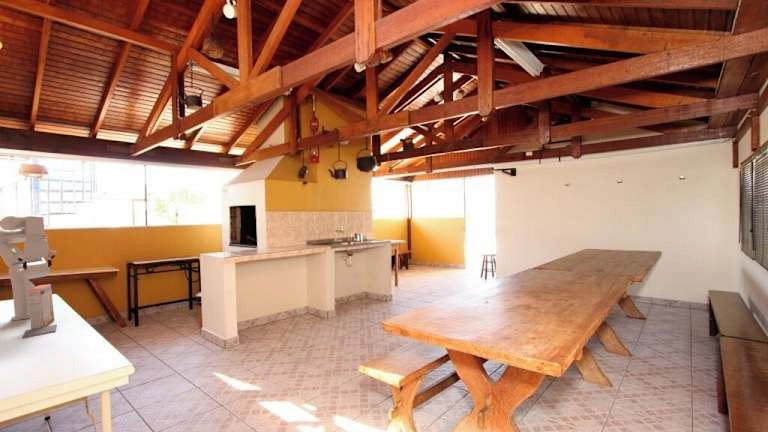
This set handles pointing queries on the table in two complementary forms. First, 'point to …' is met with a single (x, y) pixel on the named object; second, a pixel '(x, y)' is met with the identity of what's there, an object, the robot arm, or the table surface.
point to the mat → (39, 331)
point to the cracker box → (40, 306)
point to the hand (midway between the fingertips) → (37, 268)
